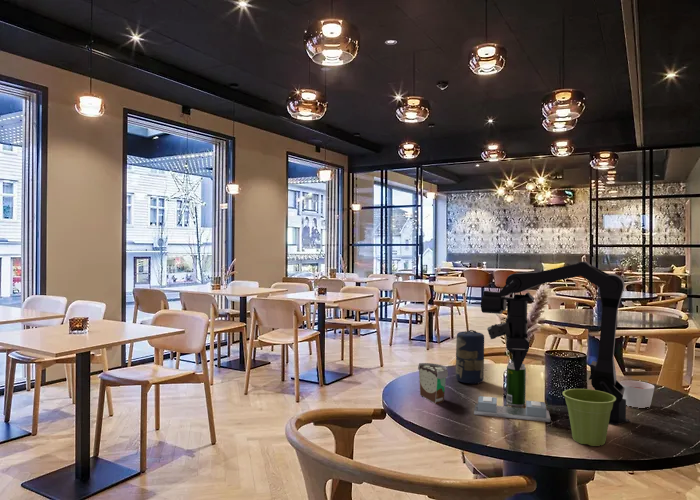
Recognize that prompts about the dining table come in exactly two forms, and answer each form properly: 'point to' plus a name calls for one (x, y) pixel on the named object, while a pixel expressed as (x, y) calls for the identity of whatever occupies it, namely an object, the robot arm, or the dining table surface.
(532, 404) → the module
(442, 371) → the food container
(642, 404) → the white tapered cup
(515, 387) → the beer can
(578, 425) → the plant pot
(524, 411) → the rail
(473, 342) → the canister
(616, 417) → the robot arm
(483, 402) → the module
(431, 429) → the dining table surface
